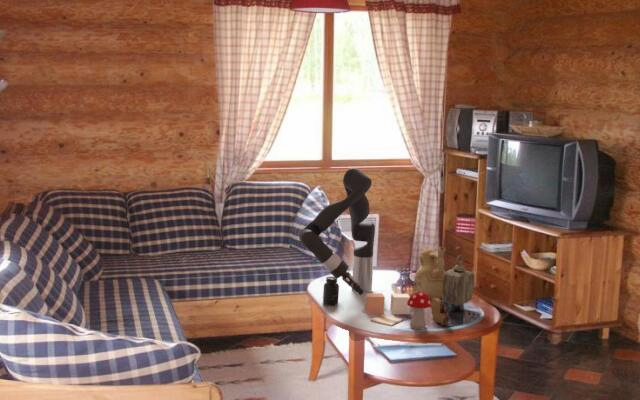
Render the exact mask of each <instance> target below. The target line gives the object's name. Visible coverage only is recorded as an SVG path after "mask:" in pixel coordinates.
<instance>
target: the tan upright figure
mask: <svg viewBox="0 0 640 400" xmlns="http://www.w3.org/2000/svg"><path fill="white" fill-rule="evenodd" d="M445 252H446V248H445V247H443V246H439V247H438V252H436V251H435V250H434V249H432V248H425V249H422V250H421V252H420V254H421V255H420V256H419V262H420V265H421V267H420V268H418V269H417V271H416V273H415V275H414V280H413V281H414V282H415V283H416V284H417V292H424V293H426V294H427V295H428V296H429V298H430V300H432V298H439V299H442V283H443V276H444V274H445V272H446V270H445V260H444V255H445ZM415 283H414V284H415Z"/></svg>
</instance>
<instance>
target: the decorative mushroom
mask: <svg viewBox="0 0 640 400" xmlns="http://www.w3.org/2000/svg"><path fill="white" fill-rule="evenodd" d="M409 296H410V298H409V299H408V302H407V305H408V306H410V308H413V309H414V310H413V314H412V318H411V320H410V321H409V325H410V328H411V327H412V329H414V328H418V329H417V330H421V329H422V328H424V329H426V328H427V321H426V317H425V312H424V311H425V310H424V309H428V308H430V307H431V305H432V302H431V300H432V299H430V298H429V296H428V295H427V294H426V293H424V292H416V291H415V292H413V293H412V294H411V295H409ZM422 330H423V329H422Z"/></svg>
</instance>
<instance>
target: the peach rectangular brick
mask: <svg viewBox="0 0 640 400" xmlns="http://www.w3.org/2000/svg"><path fill="white" fill-rule="evenodd" d="M364 294H365V298H364V311H365V314H367V315H381V314H384V315H385V297H386V296H385V295H384V294H383V293H382V292H380V293H377V292H373V293H372V292H368V293H364Z"/></svg>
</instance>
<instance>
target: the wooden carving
mask: <svg viewBox="0 0 640 400" xmlns="http://www.w3.org/2000/svg"><path fill="white" fill-rule="evenodd" d="M430 300H431V304H432V305H431V307H429V308H430V309H431V316H432V318H433V319H434V321H435V322H436V323H437V324H440V325H441V326H445V325H448V324H449V321H450V316H449V313H448V312H447V311H445V308H446V304H445V303H446V302H443V301H442V298H432V299H430Z"/></svg>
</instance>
